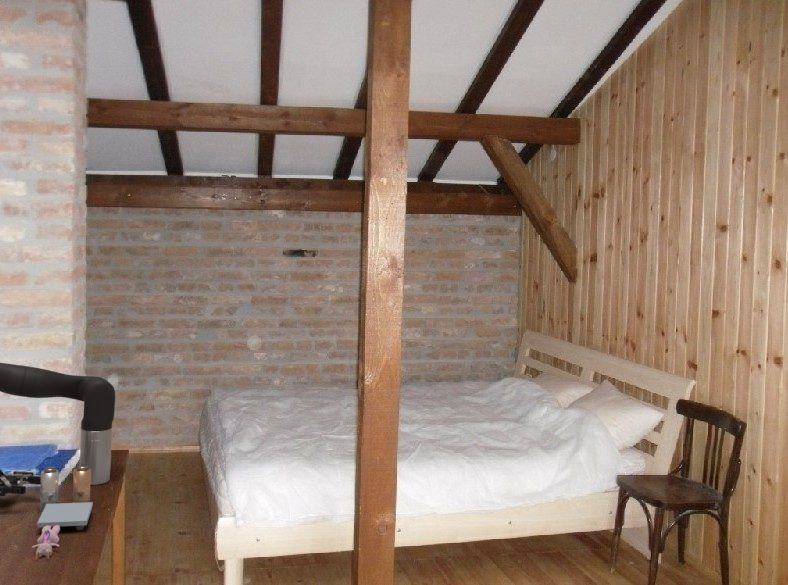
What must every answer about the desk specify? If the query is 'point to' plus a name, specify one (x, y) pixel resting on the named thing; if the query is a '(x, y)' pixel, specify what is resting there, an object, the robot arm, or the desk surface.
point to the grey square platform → (65, 515)
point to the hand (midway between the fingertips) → (34, 485)
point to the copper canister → (81, 484)
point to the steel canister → (49, 487)
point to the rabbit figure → (47, 541)
